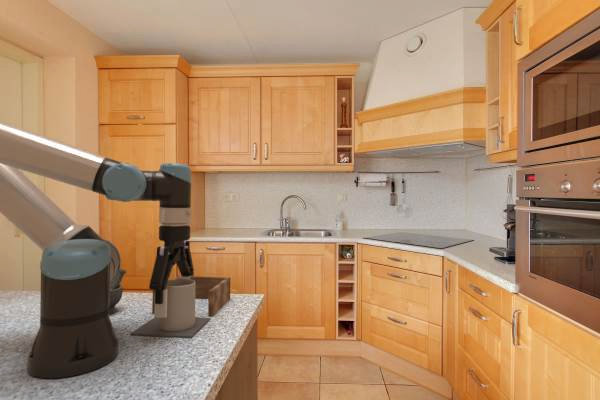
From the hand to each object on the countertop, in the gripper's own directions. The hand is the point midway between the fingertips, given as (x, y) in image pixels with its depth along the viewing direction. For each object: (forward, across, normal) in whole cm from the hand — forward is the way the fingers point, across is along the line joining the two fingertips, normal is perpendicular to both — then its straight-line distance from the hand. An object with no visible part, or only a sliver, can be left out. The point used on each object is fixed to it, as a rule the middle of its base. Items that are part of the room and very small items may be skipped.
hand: (173, 308), depth 89 cm
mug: (+4, +1, 0) cm, 5 cm away
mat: (+5, 0, 0) cm, 5 cm away
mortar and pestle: (+5, +9, +24) cm, 26 cm away
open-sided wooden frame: (+5, +18, +1) cm, 19 cm away
